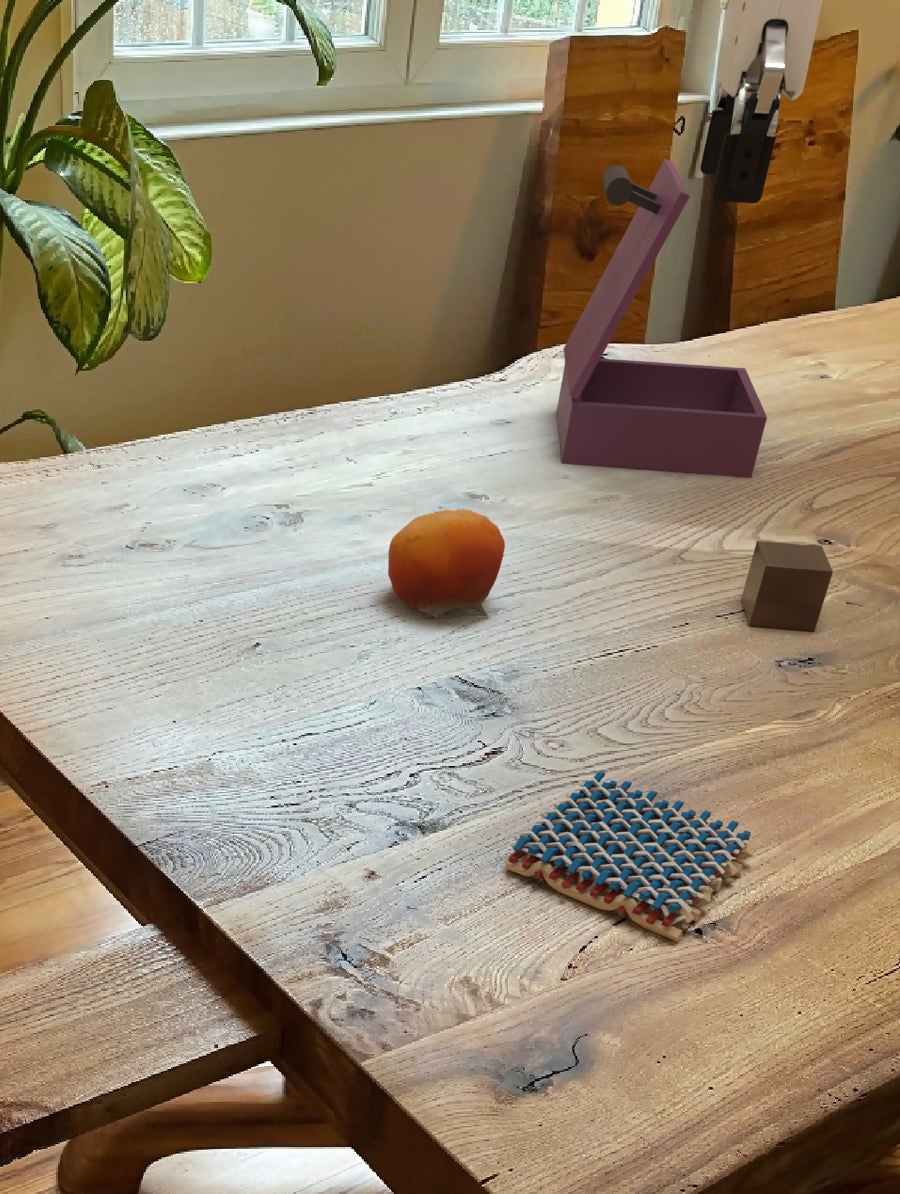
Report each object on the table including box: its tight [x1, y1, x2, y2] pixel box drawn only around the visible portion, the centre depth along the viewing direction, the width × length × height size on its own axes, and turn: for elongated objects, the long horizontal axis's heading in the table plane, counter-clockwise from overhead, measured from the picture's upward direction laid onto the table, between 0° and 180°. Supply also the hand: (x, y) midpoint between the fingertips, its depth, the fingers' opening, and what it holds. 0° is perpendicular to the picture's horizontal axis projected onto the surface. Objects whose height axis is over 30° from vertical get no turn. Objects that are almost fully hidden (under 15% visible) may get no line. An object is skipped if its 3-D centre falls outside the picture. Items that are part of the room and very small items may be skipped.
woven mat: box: [504, 770, 755, 943], centre depth 80 cm, size 10×11×2 cm
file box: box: [555, 358, 768, 479], centre depth 128 cm, size 16×14×7 cm
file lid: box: [563, 158, 691, 399], centre depth 121 cm, size 16×14×5 cm
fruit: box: [387, 509, 506, 622], centre depth 104 cm, size 8×8×8 cm
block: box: [740, 540, 834, 632], centre depth 104 cm, size 4×4×4 cm
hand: (728, 187), depth 104 cm, fingers open, 9 cm apart
